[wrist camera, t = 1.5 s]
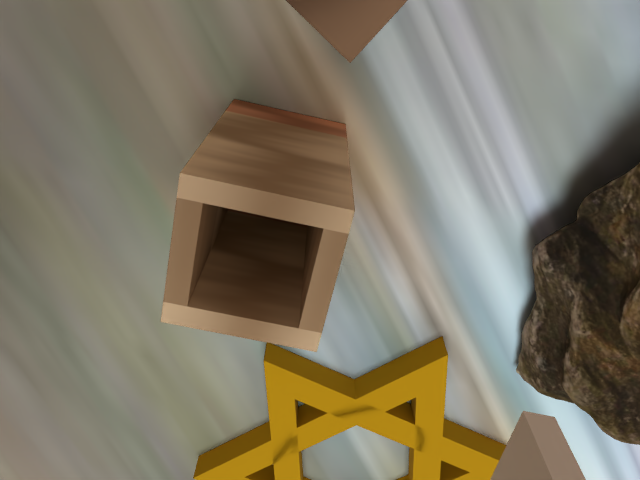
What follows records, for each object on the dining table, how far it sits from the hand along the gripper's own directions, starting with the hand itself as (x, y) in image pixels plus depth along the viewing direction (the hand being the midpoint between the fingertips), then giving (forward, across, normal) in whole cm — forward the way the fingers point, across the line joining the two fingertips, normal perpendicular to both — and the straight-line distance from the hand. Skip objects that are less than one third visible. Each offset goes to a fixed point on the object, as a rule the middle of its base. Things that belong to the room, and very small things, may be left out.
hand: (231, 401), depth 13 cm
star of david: (+18, +8, -17) cm, 26 cm away
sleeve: (+17, 0, 0) cm, 17 cm away
